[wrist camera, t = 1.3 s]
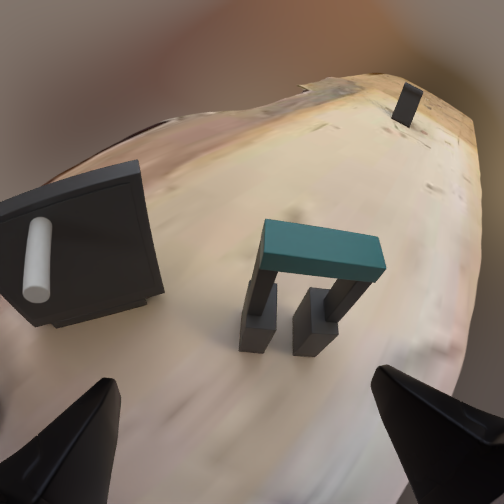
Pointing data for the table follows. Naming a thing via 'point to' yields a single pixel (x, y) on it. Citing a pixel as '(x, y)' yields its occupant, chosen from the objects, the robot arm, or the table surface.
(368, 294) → the table surface
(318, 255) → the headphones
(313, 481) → the table surface
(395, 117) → the phone stand
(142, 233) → the dark panel
